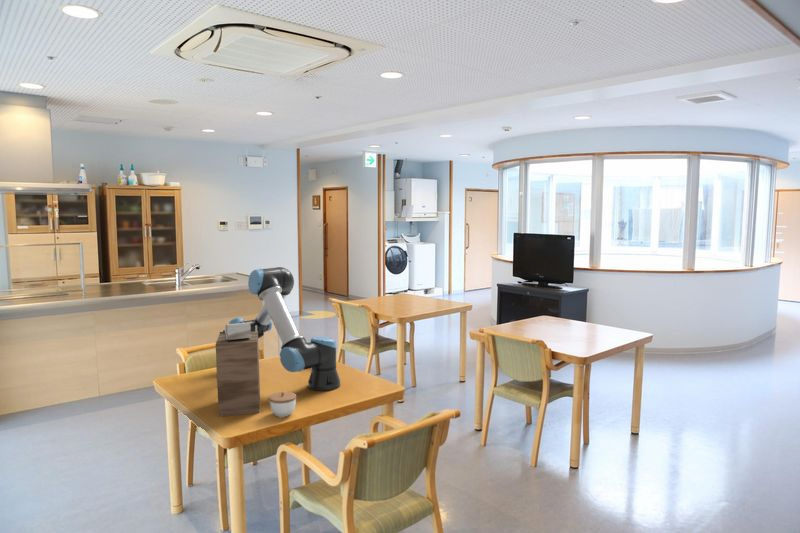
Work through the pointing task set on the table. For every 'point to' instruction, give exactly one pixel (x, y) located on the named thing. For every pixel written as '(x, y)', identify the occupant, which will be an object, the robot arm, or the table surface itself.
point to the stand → (238, 375)
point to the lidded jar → (282, 403)
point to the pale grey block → (238, 331)
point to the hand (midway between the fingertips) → (240, 328)
